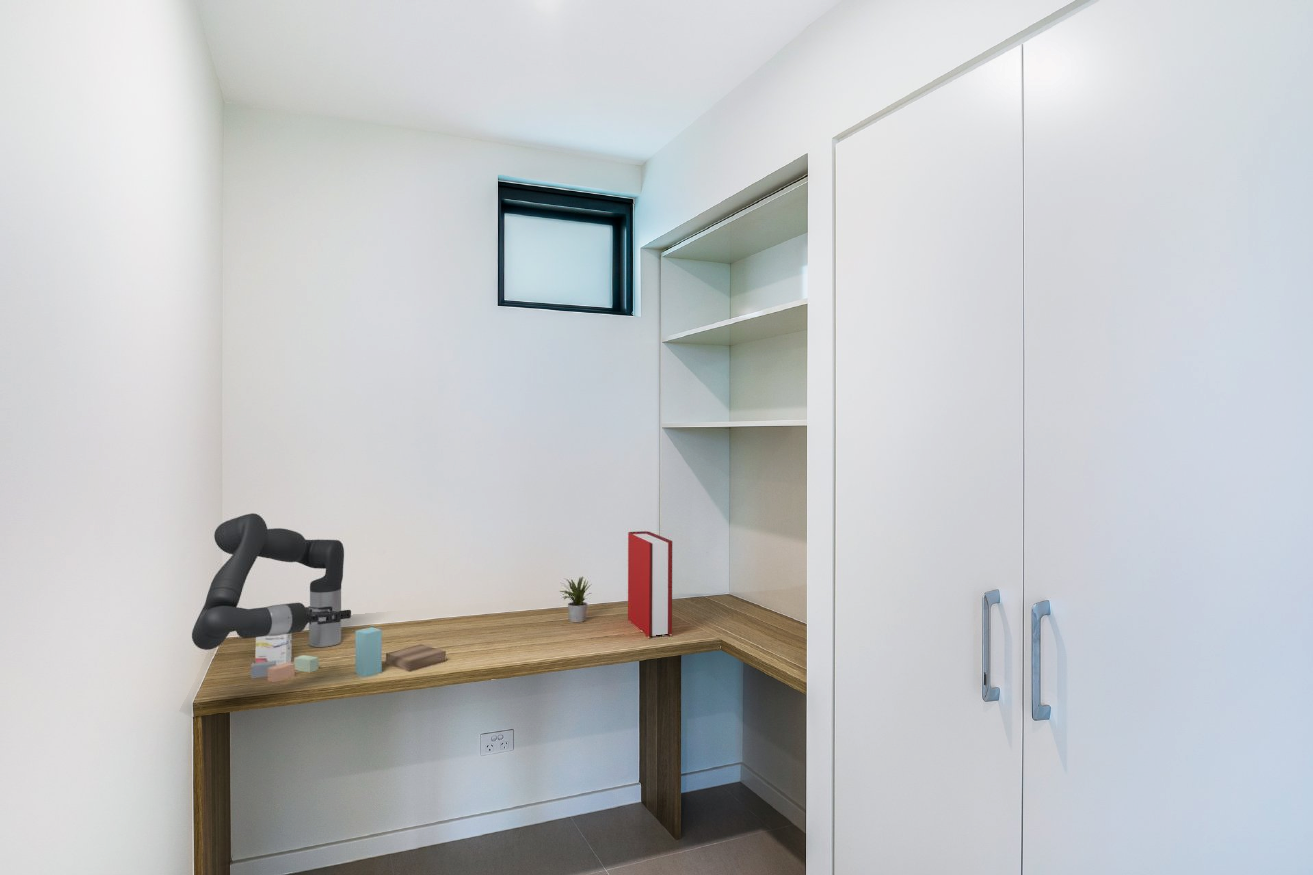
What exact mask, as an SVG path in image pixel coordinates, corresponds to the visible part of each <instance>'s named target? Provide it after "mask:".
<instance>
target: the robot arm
mask: <svg viewBox="0 0 1313 875" xmlns="http://www.w3.org/2000/svg"><path fill="white" fill-rule="evenodd" d="M213 536H214V541H215V543H216V545H217V547H218V548H219V549H220V550H221V551H222V552H224V553H227V554H229V555H231V556H230V557H229V558H228V560H227V561H226V562H225V563H224V564H223V565H222V566H221V567H220V568H219V570H218V571H217V572H216V573H215V575H214V577H213V579H212V581H211V583H210V586H209V589H208V593H207V595H206V599H205V602H204V605H203V607H202V609H201V611H200V613H199V615H198V617H197V619H196V621H195V624H194V625H193V629H192V631H191V638H192V639H191V640H192V643H193V644H194V645H195V646H196V647H197V648H199V649H201V650H205V651H209V650H210V651H211V650H214V649H216V648H217V647H219V646H220V645H222V644H223V643H224V641H225V640H226V639H227V637H228V636H229V634H230V633H233V632H236V634H237V635H238V636H239V637H240V638H242V639H254V638H255V639H256V637H262V636H277V635H284V634H291V633H292V634H298V633H301V632H303V631H304V630H305V628H306V626H307V625H308V643H309V646H311V647H314V648H315V647H316V648H321V647H322V648H323V647H324V648H325V647H326V648H327V647H331V646H336V645H339V644H341V643H342V620H346V619H348V620H349V619H350V618H351V617H352V610H351V609H344V610H342V583H343V578H344V562H345V548H344V547H345V546H344V545H343V543H342V542H341V540H340V539H339V540H338V539H305V537H304V535H303V534H302V533H299V532H298V531H295V530H291V529H287V528H281V527H280V528H279V527H278V528H268V525H267V524H266V521H265V520H264V518H263V517H262V516H261V515H260V514H257V513H254V512H253V513H248V514H243V515H241V516H238V517H234V518H231V519H229V520H225V521H223V522H222V523H221V524H219V525H218V526H216V528H215V530H214V534H213ZM258 557H259V558H265V559H268V560H269V559H271V560H274V561H279V562H283V563H284V562H285V563H299V564H301V565H303V566H306V567H308V568H311V569H321V570H322V569H323V570H325V572H324V576H321V577H320V578H318V579H317V578H316V579H314V580H311V582H310V583H309V606H305V605H304V604H303V603H302V602H291V603H279V604H273V605H269V606H268V605H267V606H264V607H255V608H253V607H252V608H243V607H238V605H239V602H240V600H241V599H240V598H241V596H242V592H243V589H244V585H245V583H246V580H247V578H248V575H249V574H250V571H251V569H252V568H253V565H254V564H255V562H256V560H257V559H258Z"/></svg>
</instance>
